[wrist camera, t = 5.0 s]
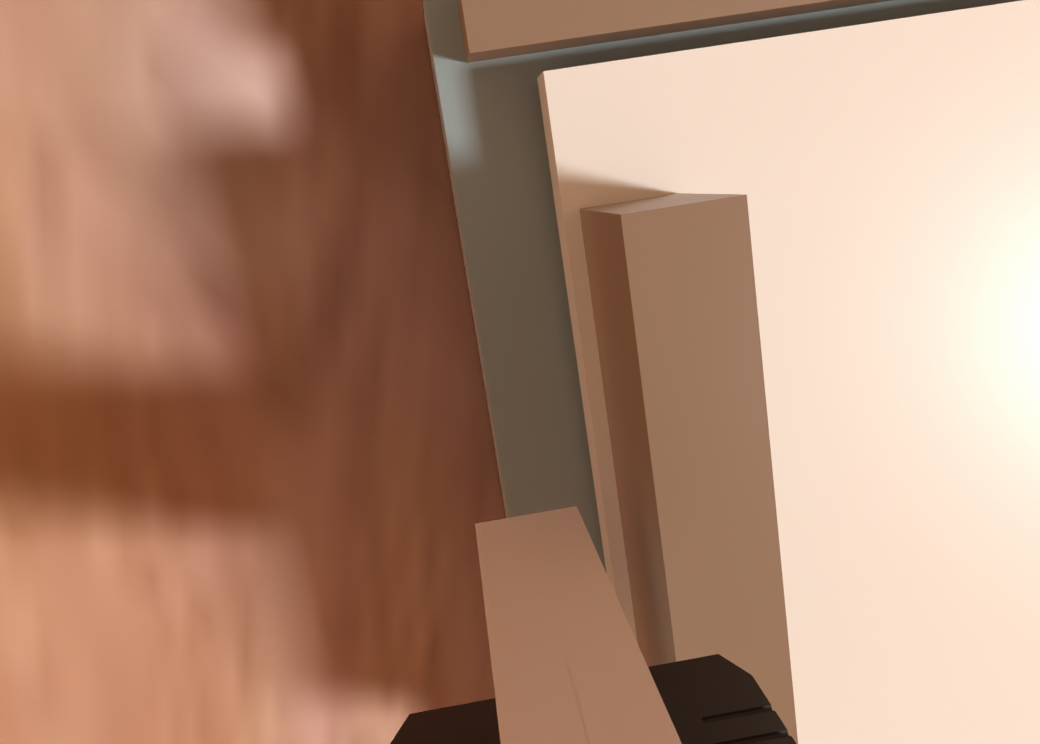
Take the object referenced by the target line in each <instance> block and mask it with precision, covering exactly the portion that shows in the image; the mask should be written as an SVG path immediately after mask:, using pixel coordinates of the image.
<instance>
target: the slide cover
mask: <svg viewBox="0 0 1040 744" xmlns="http://www.w3.org/2000/svg"><path fill="white" fill-rule="evenodd" d="M537 81H538V88H539V95H540V103H541V110H542V117H543V124H544V131H545V138H546V145H547V153H548V160H549V167H550V174H551V181H552V188H553V195H554V202H555V210H556V217H557V224H558V231H559V238H560V245H561V252H562V260H563V267H564V274H565V281H566V288H567V295H568V302H569V309H570V317H571V324H572V331H573V338H574V345H575V352H576V359H577V366H578V374H579V381H580V388H581V395H582V402H583V409H584V416H585V424H586V431H587V438H588V445H589V452H590V459H591V466H592V473H593V481H594V488H595V495H596V502H597V509H598V516H599V523H600V531H601V538H602V545H603V552H604V559H605V566H606V573H607V576H608V578H609V580H610V583H611V585H612V587H613V589H614V592H615V594H616V596H617V598H618V601H619V603H620V605H621V607H622V610H623V612H624V614H625V617H626V619H627V621H628V623H629V626H630V628H631V630H632V632H633V635H634V637H635V639H636V641H637V644H638V646H639V648H640V650H641V653H642V655H643V657H644V659H645V662H646V664H647V666H648V667H650V666H655V665H661V664H666V663H672V662H677V661H683V660H688V659H693V658H699V657H704V656H710V655H715V654H719V655H721V656H722V657H724V658H726V659H727V660H729V661H730V662H732V663H733V664H735V665H737V666H738V667H740V668H741V669H743V670H745V671H746V672H748V673H749V674H751V675H752V676H753V677H754V679H755V681H756V682H757V684H758V685H759V687H760V688H761V690H762V691H763V693H764V694H765V696H766V697H767V699H768V701H769V702H770V704H771V707H772V710H773V711H776V713H777V714H778V716H779V717H780V719H781V721H782V722H783V724H784V725H785V727H786V728H787V731H788V735H789V736H792V738H793V739H794V741H795V742H796V744H1040V0H1022V1H1015V2H1008V3H1001V4H995V5H988V6H981V7H974V8H968V9H961V10H954V11H947V12H941V13H934V14H927V15H920V16H913V17H907V18H900V19H893V20H886V21H880V22H873V23H866V24H859V25H853V26H846V27H839V28H832V29H826V30H819V31H812V32H805V33H799V34H792V35H785V36H778V37H772V38H765V39H758V40H751V41H744V42H738V43H731V44H724V45H717V46H711V47H704V48H697V49H690V50H684V51H677V52H670V53H663V54H657V55H650V56H643V57H636V58H630V59H623V60H616V61H609V62H603V63H596V64H589V65H582V66H576V67H569V68H562V69H555V70H548V71H543V72H542V73H541V74H540V75H539V77H538V78H537Z"/></svg>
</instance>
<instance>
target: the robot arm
mask: <svg viewBox="0 0 1040 744" xmlns="http://www.w3.org/2000/svg"><path fill="white" fill-rule="evenodd" d="M475 529H476V537H477V546H478V554H479V563H480V571H481V580H482V588H483V597H484V606H485V614H486V623H487V631H488V640H489V648H490V657H491V665H492V674H493V682H494V691H495V698H494V699H489V700H484V701H478V702H473V703H467V704H462V705H456V706H451V707H446V708H440V709H435V710H429V711H424V712H418V713H413V714H409V716H408V717H407V719H406V721H405V722H404V724H403V725H402V727H401V728H400V730H399V731H398V733H397V734H396V736H395V737H394V739H393V741H392V742H391V744H796V742H795V741H794V739H793V738H792V736H789V735H788V731H787V728H786V727H785V725H784V724H783V722H782V721H781V719H780V717H779V716H778V714H777V713H776V711H773V710H772V707H771V704H770V702H769V701H768V699H767V697H766V696H765V694H764V693H763V691H762V690H761V688H760V687H759V685H758V684H757V682H756V681H755V679H754V677H753V676H752V675H751V674H749V673H748V672H746V671H745V670H743V669H741V668H740V667H738V666H737V665H735V664H733V663H732V662H730V661H729V660H727V659H726V658H724V657H722V656H721V655H719V654H715V655H710V656H704V657H699V658H693V659H688V660H683V661H677V662H672V663H666V664H661V665H655V666H650V667H648V666H647V664H646V662H645V659H644V657H643V655H642V653H641V650H640V648H639V646H638V644H637V641H636V639H635V637H634V635H633V632H632V630H631V628H630V626H629V623H628V621H627V619H626V617H625V614H624V612H623V610H622V607H621V605H620V603H619V601H618V598H617V596H616V594H615V592H614V589H613V587H612V585H611V583H610V580H609V578H608V576H607V574H606V571H605V569H604V567H603V565H602V562H601V560H600V558H599V556H598V553H597V551H596V549H595V547H594V544H593V542H592V540H591V538H590V535H589V533H588V531H587V528H586V526H585V524H584V522H583V519H582V517H581V515H580V513H579V510H578V508H577V506H574V507H569V508H563V509H557V510H551V511H545V512H540V513H534V514H528V515H522V516H516V517H510V518H505V519H499V520H493V521H487V522H481V523H475Z"/></svg>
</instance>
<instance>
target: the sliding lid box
mask: <svg viewBox="0 0 1040 744" xmlns="http://www.w3.org/2000/svg"><path fill="white" fill-rule="evenodd" d="M1015 1H1022V0H423V6H424V21H425V28H426V34H427V40H428V46H429V52H430V58H431V65H432V71H433V77H434V83H435V89H436V95H437V101H438V107H439V113H440V119H441V125H442V131H443V138H444V144H445V150H446V156H447V162H448V168H449V174H450V180H451V186H452V192H453V198H454V204H455V210H456V217H457V223H458V229H459V235H460V241H461V247H462V253H463V259H464V265H465V271H466V277H467V283H468V290H469V296H470V302H471V308H472V314H473V320H474V326H475V332H476V338H477V344H478V350H479V356H480V363H481V369H482V375H483V381H484V387H485V393H486V399H487V405H488V411H489V417H490V423H491V429H492V435H493V442H494V448H495V454H496V460H497V466H498V472H499V478H500V484H501V490H502V496H503V502H504V508H505V515H506V518H510V517H516V516H522V515H528V514H534V513H540V512H545V511H551V510H557V509H563V508H569V507H574V506H577V508H578V510H579V513H580V515H581V517H582V519H583V522H584V524H585V526H586V528H587V531H588V533H589V535H590V538H591V540H592V542H593V544H594V547H595V549H596V551H597V553H598V556H599V558H600V560H601V562H602V565H603V567H604V569H605V571H606V566H605V559H604V552H603V545H602V538H601V531H600V523H599V516H598V509H597V502H596V495H595V488H594V481H593V473H592V466H591V459H590V452H589V445H588V438H587V431H586V424H585V416H584V409H583V402H582V395H581V388H580V381H579V374H578V366H577V359H576V352H575V345H574V338H573V331H572V324H571V317H570V309H569V302H568V295H567V288H566V281H565V274H564V267H563V260H562V252H561V245H560V238H559V231H558V224H557V217H556V210H555V202H554V195H553V188H552V181H551V174H550V167H549V160H548V153H547V145H546V138H545V131H544V124H543V117H542V110H541V103H540V95H539V88H538V81H537V78H538V77H539V75H540V74H541V73H542V72H543V71H548V70H555V69H562V68H569V67H576V66H582V65H589V64H596V63H603V62H609V61H616V60H623V59H630V58H636V57H643V56H650V55H657V54H663V53H670V52H677V51H684V50H690V49H697V48H704V47H711V46H717V45H724V44H731V43H738V42H744V41H751V40H758V39H765V38H772V37H778V36H785V35H792V34H799V33H805V32H812V31H819V30H826V29H832V28H839V27H846V26H853V25H859V24H866V23H873V22H880V21H886V20H893V19H900V18H907V17H913V16H920V15H927V14H934V13H941V12H947V11H954V10H961V9H968V8H974V7H981V6H988V5H995V4H1001V3H1008V2H1015ZM606 574H607V573H606Z"/></svg>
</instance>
